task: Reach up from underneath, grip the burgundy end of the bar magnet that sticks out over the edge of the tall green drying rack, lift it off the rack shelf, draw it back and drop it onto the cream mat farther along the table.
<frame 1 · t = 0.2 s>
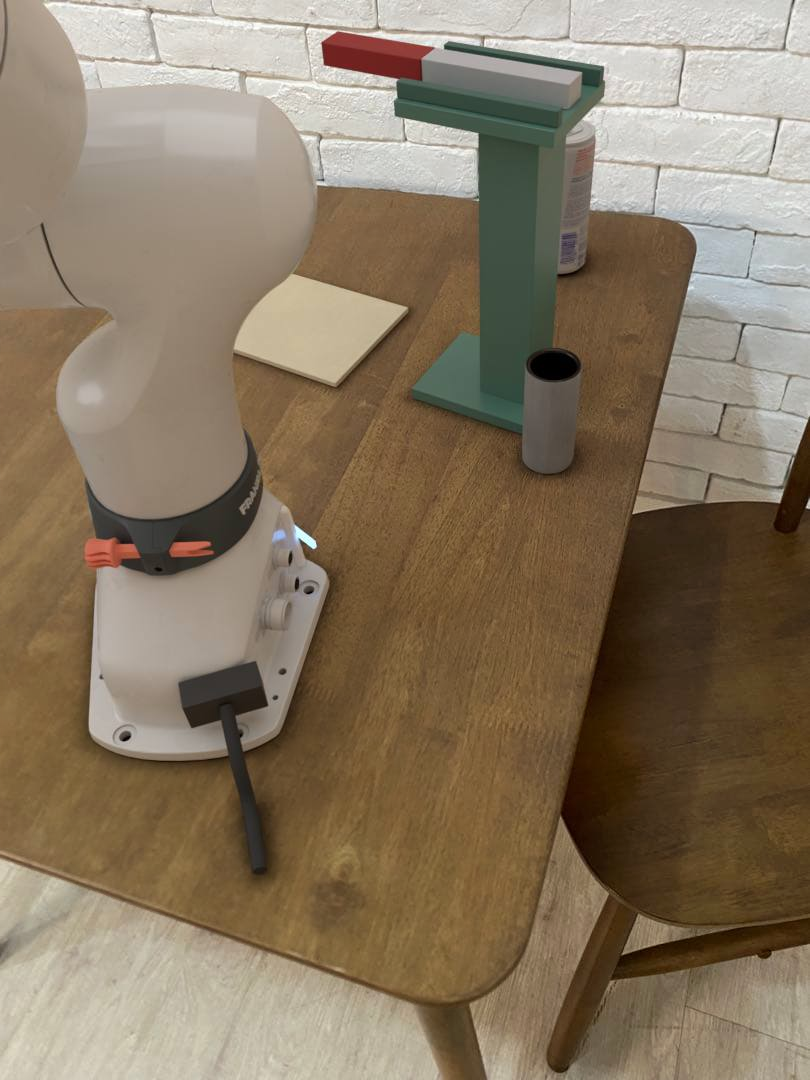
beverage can: (559, 264, 104), on the table
bar magnet: (429, 77, 72), point 28 cm above the table, touching rack
rack: (496, 387, 90), on the table
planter: (547, 458, 83), on the table
mat: (279, 318, 100), on the table
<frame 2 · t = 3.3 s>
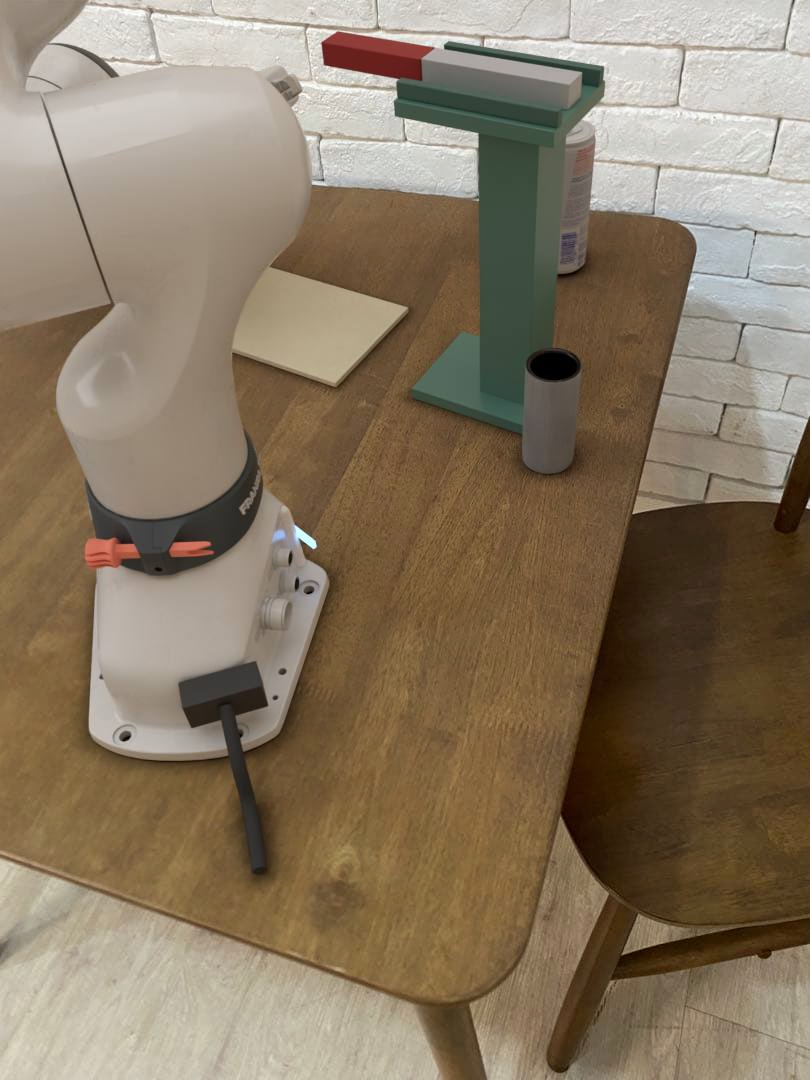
hand: (263, 106, 82), 23 cm above the table, tool pointing upward, fingers open, 8 cm apart
nothing on the table moved.
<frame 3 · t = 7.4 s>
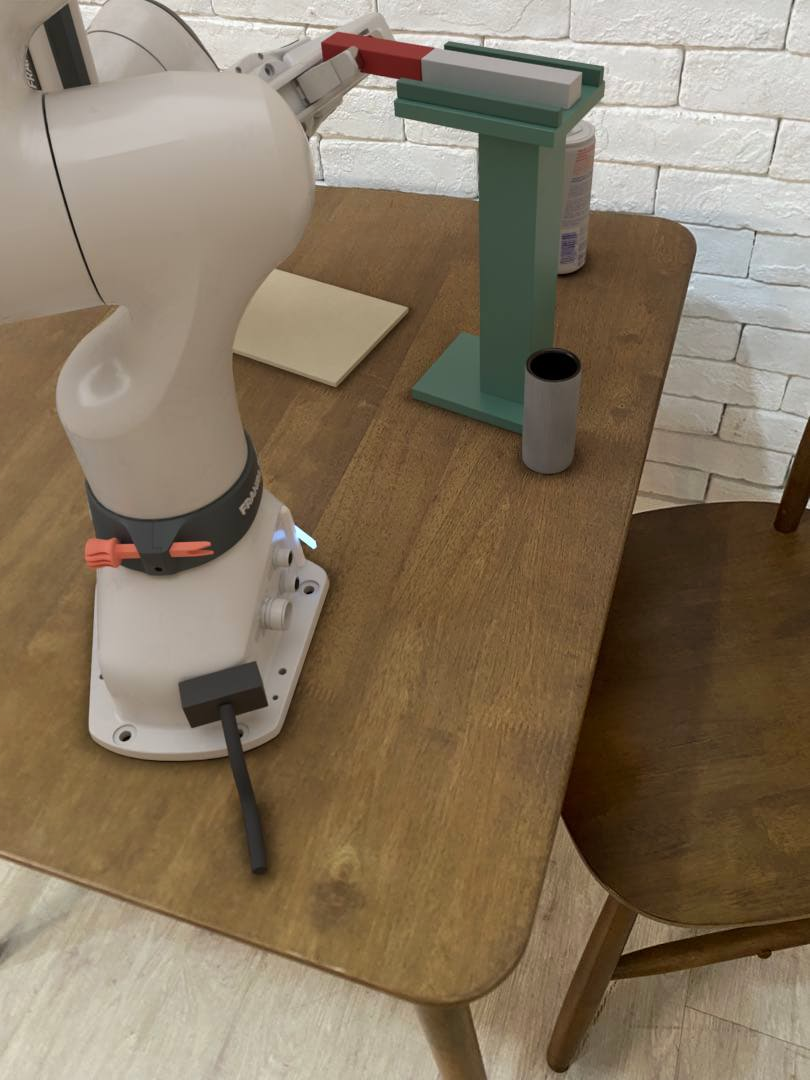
hand: (369, 49, 73), 29 cm above the table, tool pointing upward, fingers closed on bar magnet, 2 cm apart
bar magnet: (429, 77, 72), point 28 cm above the table, touching gripper, rack
everything else where it was.
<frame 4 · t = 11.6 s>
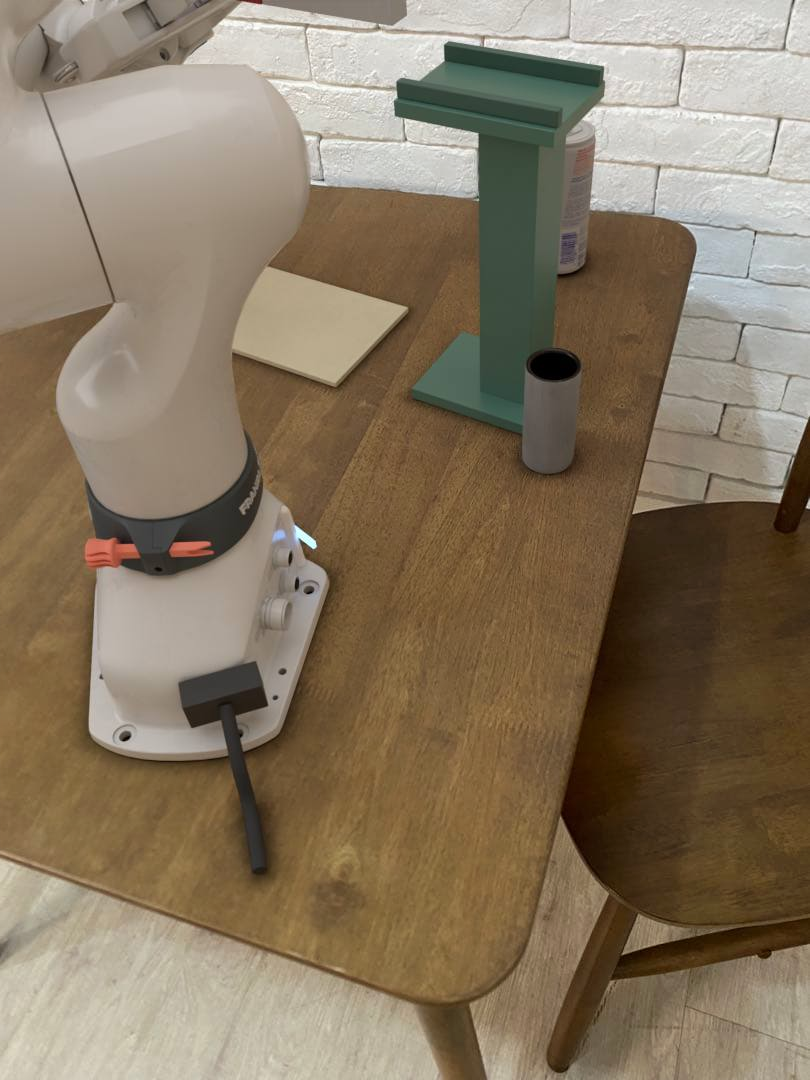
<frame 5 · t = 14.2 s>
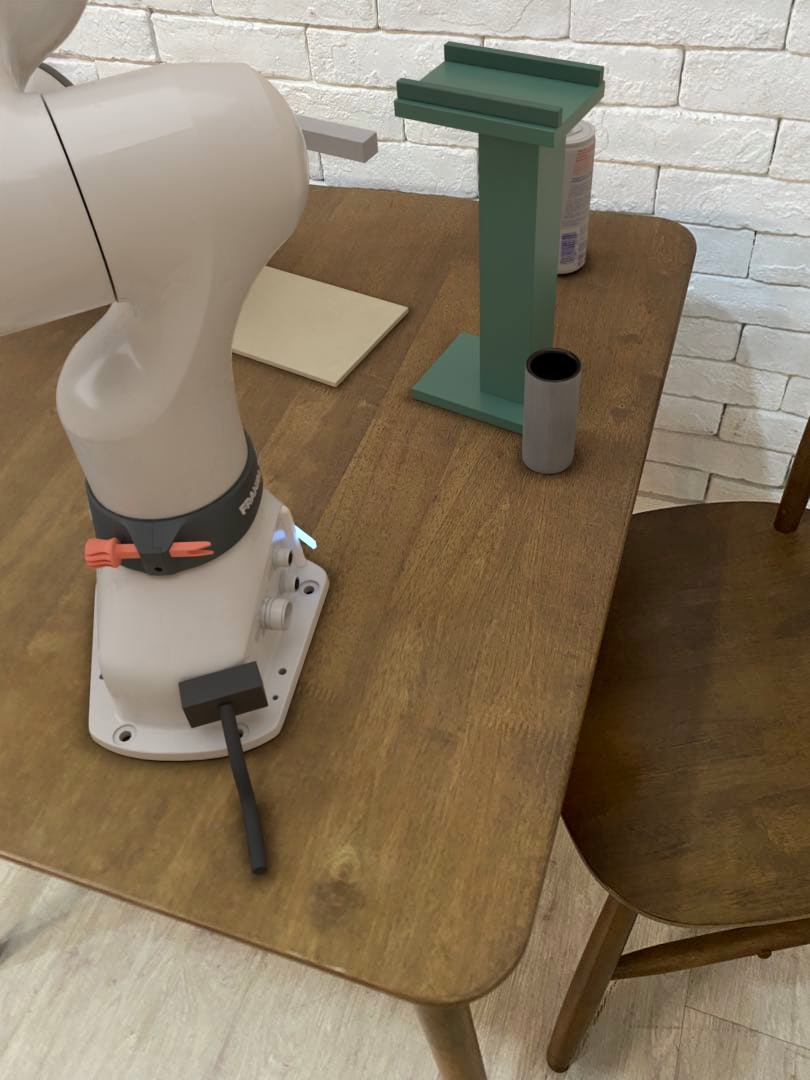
hand: (210, 106, 85), 22 cm above the table, tool pointing upward, fingers closed on bar magnet, 2 cm apart
bar magnet: (258, 131, 84), point 21 cm above the table, touching gripper
everything else where it was.
when the fingers open (18 cm above the table, at t = 16.0 s): bar magnet drops 16 cm, resting on mat.
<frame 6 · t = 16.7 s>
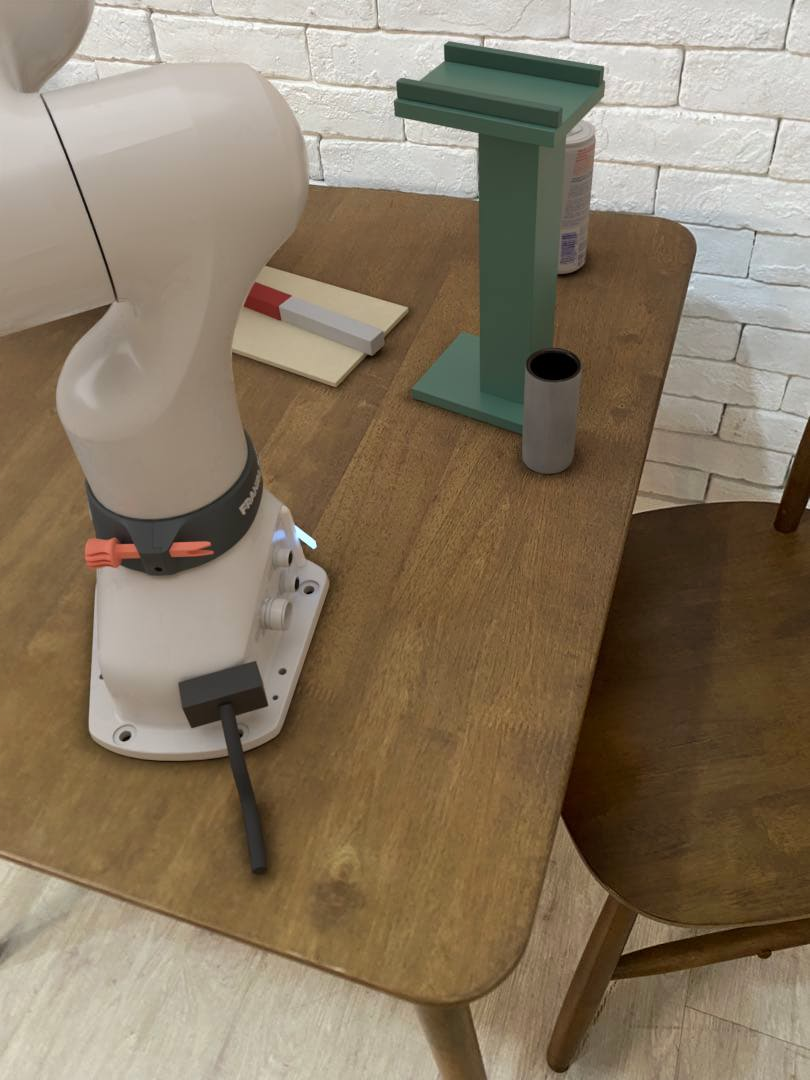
hand: (220, 155, 88), 17 cm above the table, tool pointing upward, fingers open, 8 cm apart
bar magnet: (287, 315, 99), point 1 cm above the table, touching mat
everything else where it was.
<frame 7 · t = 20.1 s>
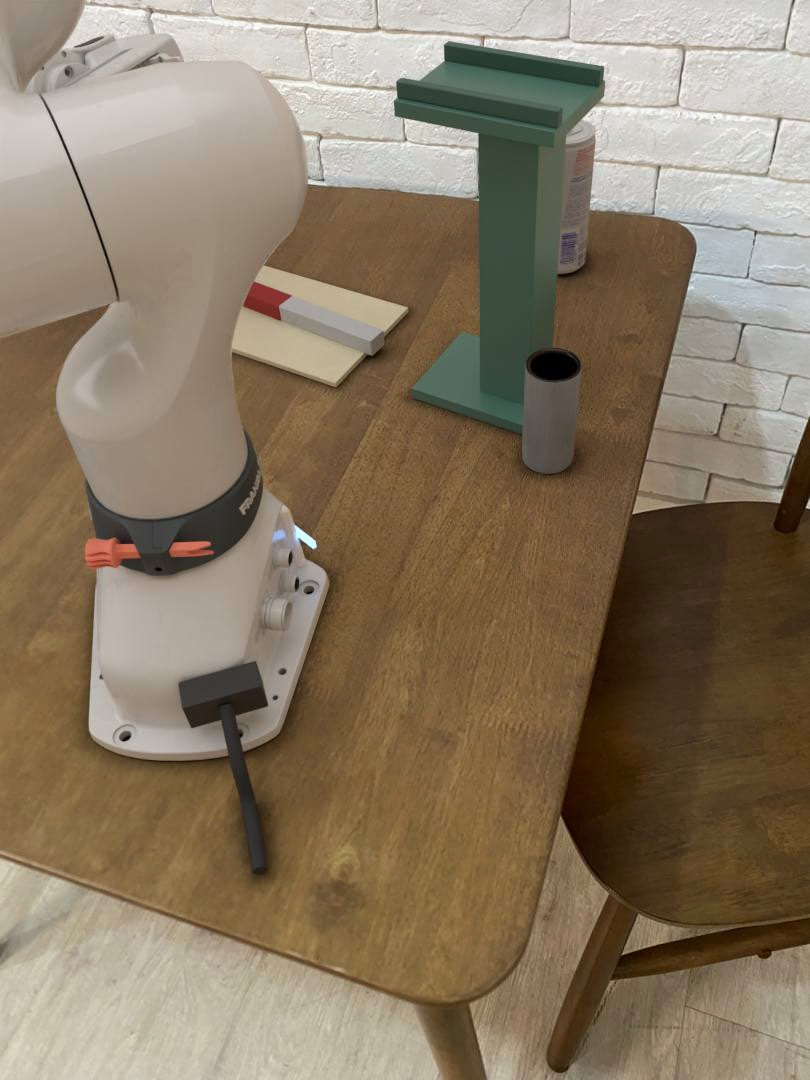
hand: (148, 89, 89), 22 cm above the table, tool horizontal, fingers open, 8 cm apart
nothing on the table moved.
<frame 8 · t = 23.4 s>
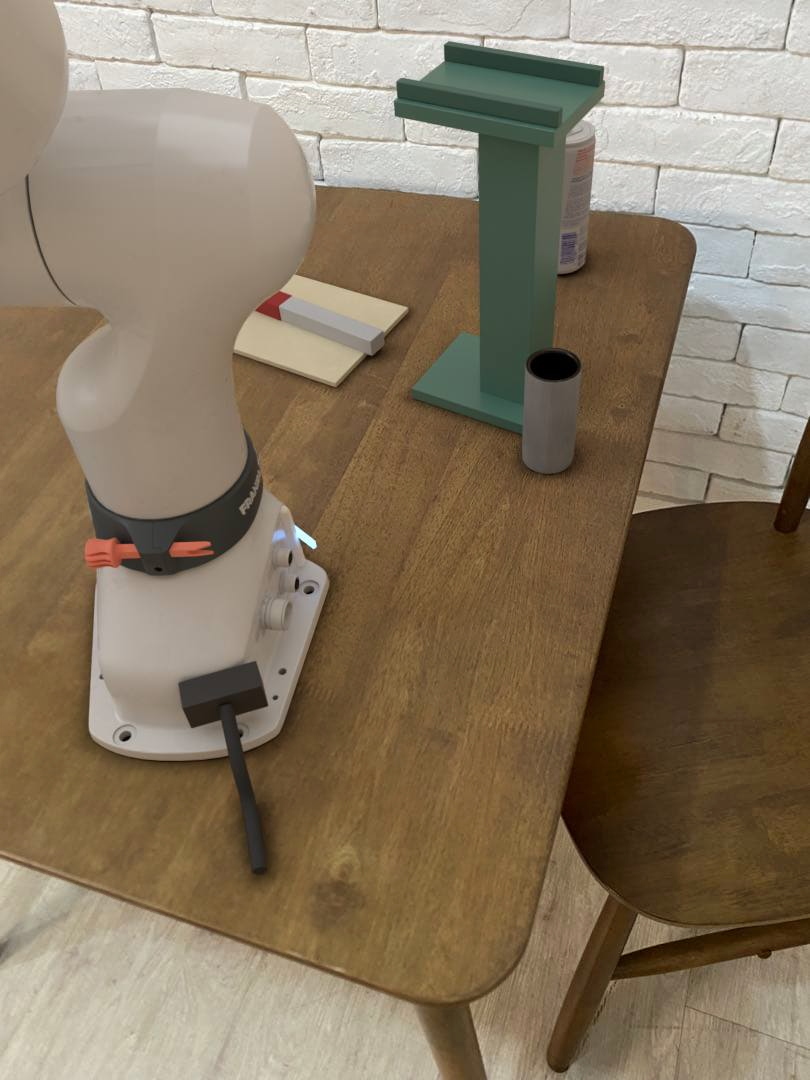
nothing on the table moved.
at the end: bar magnet touching mat; bar magnet point 0.6 cm above the table; bar magnet inside the target area on the mat (1.2 cm from its centre), point 0.6 cm above the mat's base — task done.
